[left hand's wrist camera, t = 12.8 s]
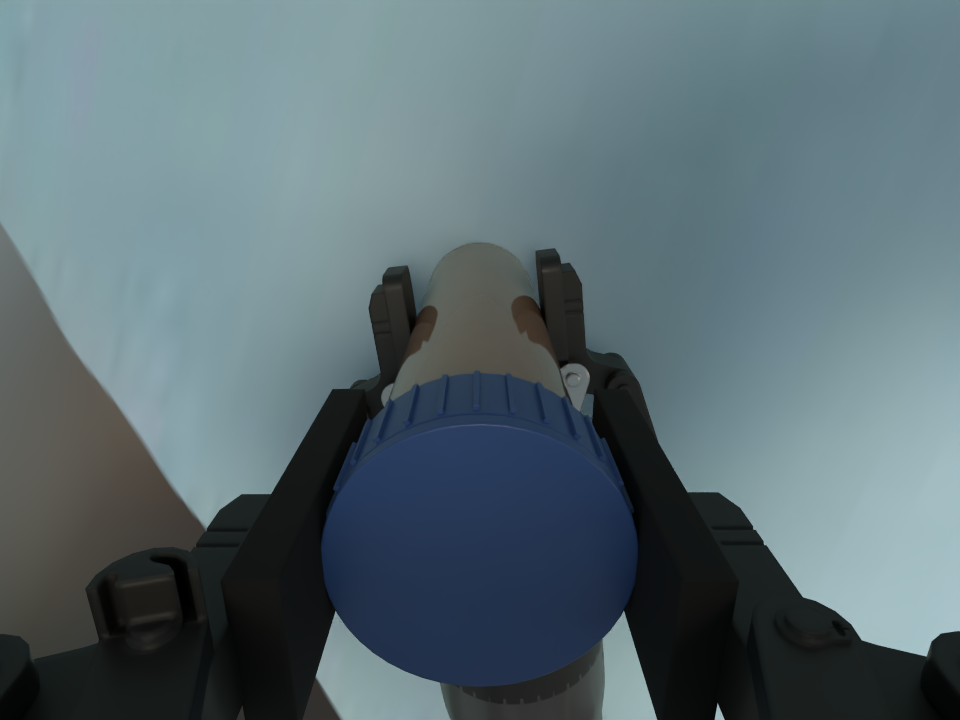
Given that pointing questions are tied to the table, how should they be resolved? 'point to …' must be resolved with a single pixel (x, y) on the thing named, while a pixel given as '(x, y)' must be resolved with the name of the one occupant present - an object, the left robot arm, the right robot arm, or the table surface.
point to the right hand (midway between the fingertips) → (470, 264)
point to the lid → (479, 532)
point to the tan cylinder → (480, 324)
